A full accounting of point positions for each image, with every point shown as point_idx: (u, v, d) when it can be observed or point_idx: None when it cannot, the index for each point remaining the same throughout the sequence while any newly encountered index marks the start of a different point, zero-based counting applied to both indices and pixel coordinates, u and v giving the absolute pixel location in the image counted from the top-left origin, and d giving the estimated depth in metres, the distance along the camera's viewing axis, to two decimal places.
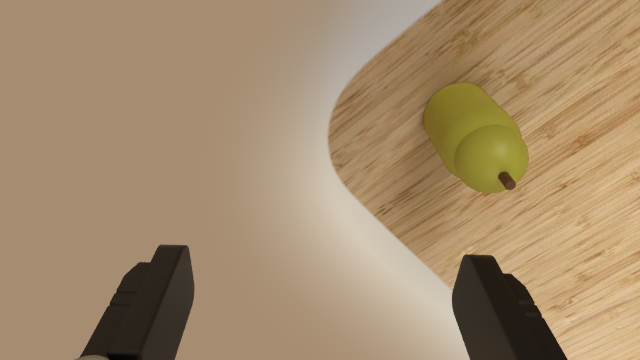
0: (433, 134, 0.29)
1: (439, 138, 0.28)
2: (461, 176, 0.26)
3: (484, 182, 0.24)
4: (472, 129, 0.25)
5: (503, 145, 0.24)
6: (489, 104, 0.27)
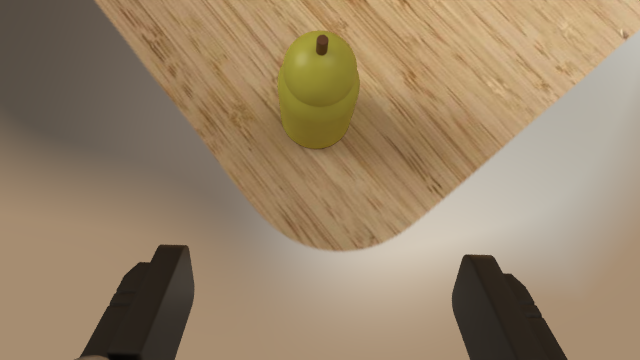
0: (317, 134, 0.27)
1: (313, 126, 0.26)
2: (334, 95, 0.23)
3: (331, 68, 0.22)
4: (288, 91, 0.24)
5: (291, 56, 0.22)
6: None
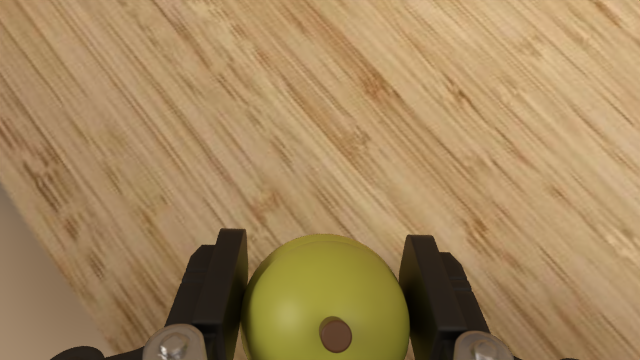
0: None
1: None
2: None
3: None
4: None
5: (261, 328, 0.10)
6: None
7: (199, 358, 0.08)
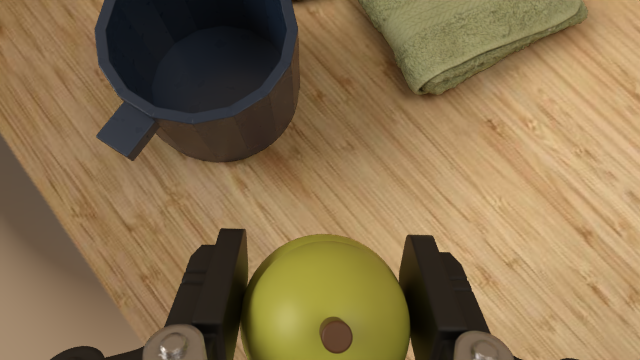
0: None
1: None
2: None
3: None
4: None
5: (261, 328, 0.10)
6: None
7: (199, 358, 0.08)
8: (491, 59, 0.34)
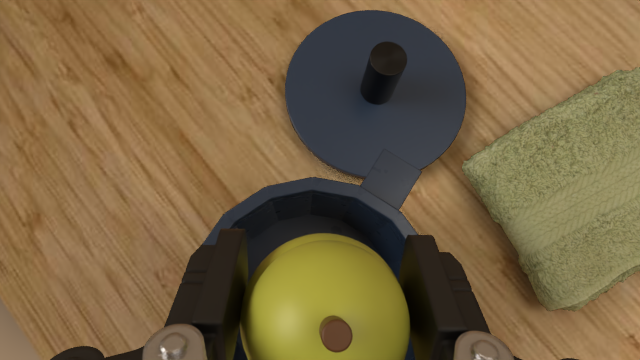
0: None
1: None
2: None
3: None
4: None
5: (261, 327, 0.10)
6: None
7: (199, 358, 0.08)
8: None
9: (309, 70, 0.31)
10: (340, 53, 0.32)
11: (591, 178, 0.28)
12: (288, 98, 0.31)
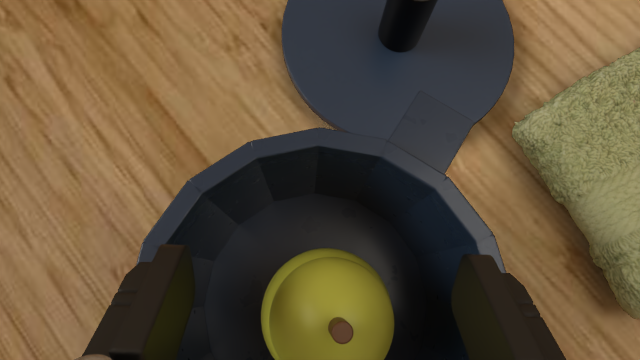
0: None
1: None
2: None
3: (355, 358, 0.12)
4: None
5: (284, 325, 0.13)
6: None
7: None
8: None
9: (312, 9, 0.24)
10: None
11: None
12: (285, 45, 0.24)
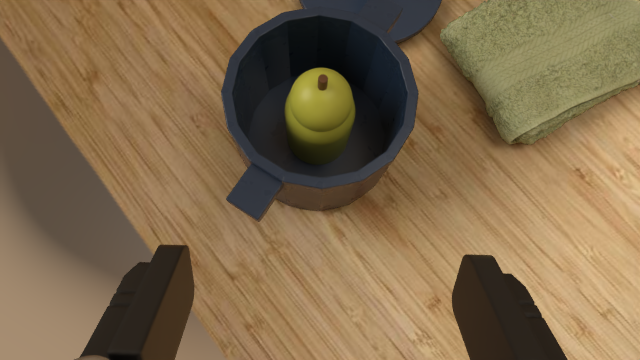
0: (319, 153, 0.31)
1: (315, 147, 0.30)
2: (333, 122, 0.27)
3: (330, 101, 0.26)
4: (294, 119, 0.28)
5: (296, 90, 0.27)
6: None
7: None
8: (582, 110, 0.34)
9: None
10: None
11: (544, 39, 0.35)
12: None
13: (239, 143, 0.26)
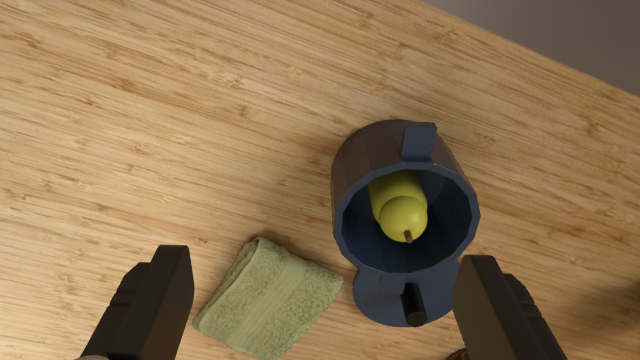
0: None
1: (389, 181, 0.38)
2: (386, 211, 0.36)
3: (396, 225, 0.35)
4: (414, 196, 0.37)
5: (422, 219, 0.36)
6: None
7: None
8: (227, 278, 0.48)
9: (452, 282, 0.50)
10: (438, 296, 0.51)
11: (277, 307, 0.49)
12: (457, 264, 0.48)
13: (445, 169, 0.33)
